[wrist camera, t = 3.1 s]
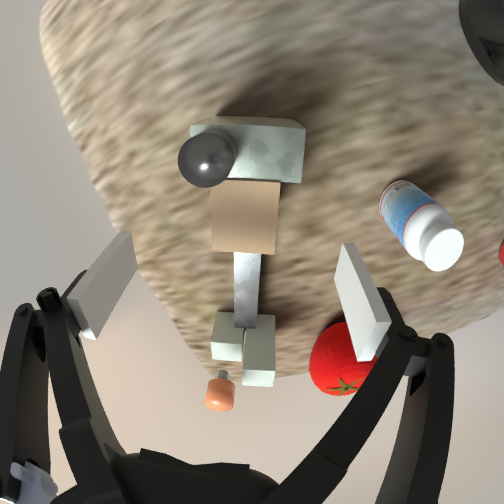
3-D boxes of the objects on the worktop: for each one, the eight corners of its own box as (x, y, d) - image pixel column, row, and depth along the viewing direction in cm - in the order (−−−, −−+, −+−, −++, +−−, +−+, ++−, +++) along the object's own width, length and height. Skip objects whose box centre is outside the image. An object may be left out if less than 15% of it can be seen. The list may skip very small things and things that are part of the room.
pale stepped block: (217, 311, 40) (205, 365, 32) (275, 315, 40) (275, 371, 31) (218, 329, 42) (208, 381, 34) (272, 332, 42) (272, 386, 33)
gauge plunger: (209, 364, 32) (203, 397, 28) (236, 366, 32) (232, 400, 28) (211, 378, 34) (206, 409, 30) (236, 380, 34) (233, 412, 30)
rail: (215, 116, 26) (176, 130, 15) (293, 119, 26) (313, 134, 15) (219, 311, 40) (204, 386, 29) (273, 315, 40) (273, 391, 29)
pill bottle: (372, 221, 31) (408, 276, 22) (384, 174, 28) (432, 215, 18) (411, 227, 31) (453, 280, 22) (424, 184, 28) (477, 226, 18)
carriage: (226, 153, 27) (207, 179, 19) (278, 156, 27) (283, 183, 19) (226, 206, 30) (210, 250, 22) (274, 208, 30) (276, 254, 22)
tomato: (374, 308, 38) (394, 364, 29) (362, 350, 44) (374, 401, 35) (308, 313, 39) (316, 373, 30) (304, 355, 45) (309, 409, 36)
